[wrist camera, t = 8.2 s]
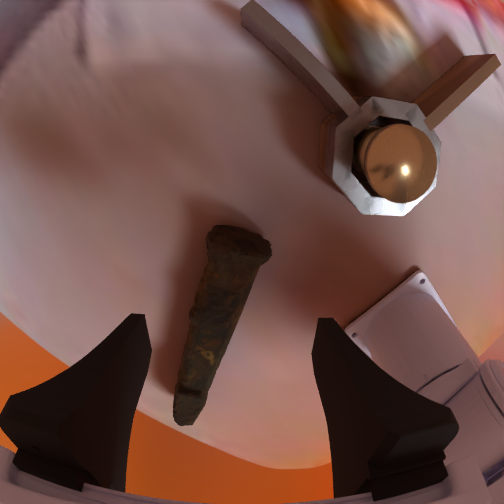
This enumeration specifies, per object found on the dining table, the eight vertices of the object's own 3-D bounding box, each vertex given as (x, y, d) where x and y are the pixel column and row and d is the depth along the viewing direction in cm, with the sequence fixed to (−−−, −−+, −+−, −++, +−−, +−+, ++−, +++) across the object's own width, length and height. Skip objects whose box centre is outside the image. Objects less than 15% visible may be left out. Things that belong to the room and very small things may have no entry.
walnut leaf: (488, 97, 17) (519, 101, 13) (361, 216, 21) (379, 236, 18) (442, 23, 14) (470, 15, 11) (297, 143, 19) (308, 152, 15)
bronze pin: (386, 176, 20) (431, 204, 14) (332, 173, 19) (364, 202, 14) (390, 120, 18) (440, 130, 12) (335, 114, 18) (370, 120, 12)
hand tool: (214, 213, 21) (205, 243, 17) (272, 233, 21) (277, 267, 17) (158, 388, 29) (148, 425, 24) (197, 399, 29) (191, 437, 25)
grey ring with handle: (427, 156, 19) (455, 167, 16) (361, 216, 21) (379, 236, 18) (285, -10, 14) (293, -31, 11) (206, 55, 16) (198, 45, 13)
